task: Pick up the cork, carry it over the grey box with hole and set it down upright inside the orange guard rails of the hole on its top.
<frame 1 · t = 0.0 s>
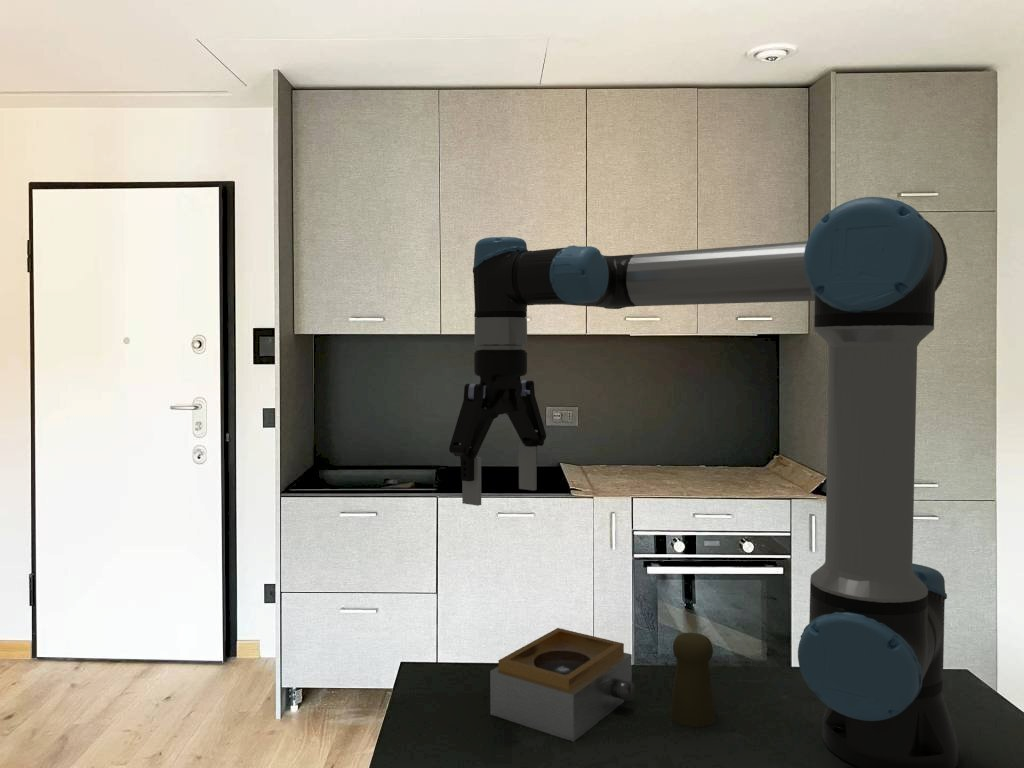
hand: (501, 496, 115), 28 cm above the table, tool pointing down, fingers open, 13 cm apart
cork: (692, 718, 107), on the table
grey box with hole: (562, 704, 111), on the table
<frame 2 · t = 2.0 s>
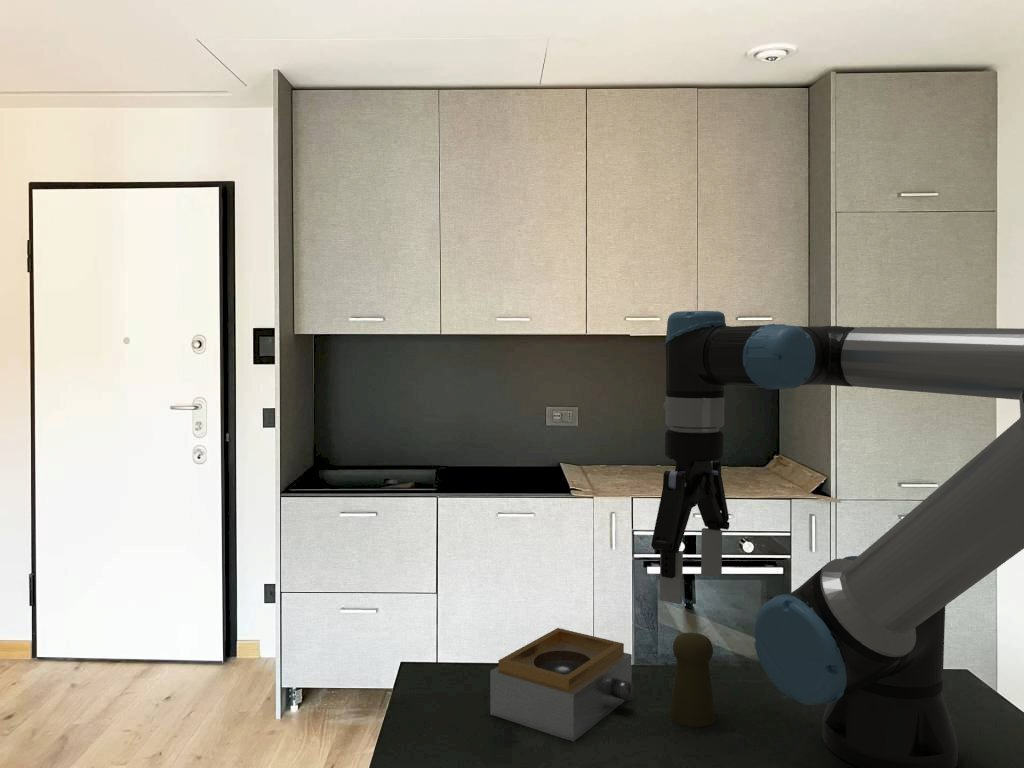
hand: (692, 588, 106), 17 cm above the table, tool pointing down, fingers open, 13 cm apart
nothing on the table moved.
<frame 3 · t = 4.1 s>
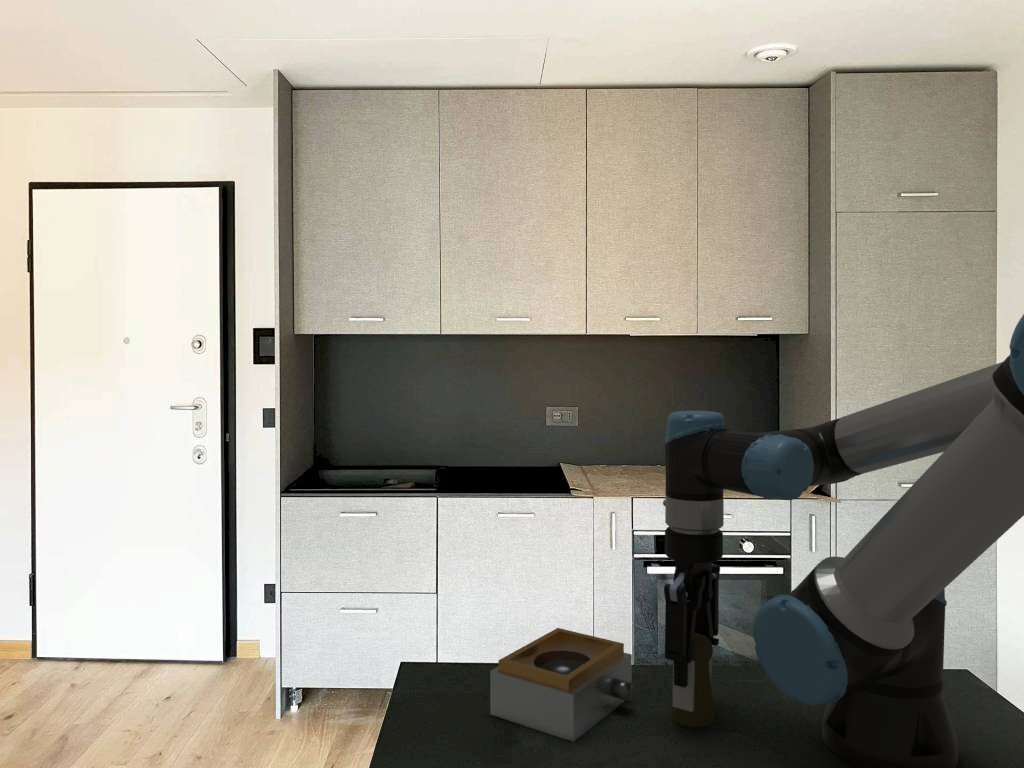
hand: (692, 699, 107), 2 cm above the table, tool pointing down, fingers closed on cork, 5 cm apart
cork: (692, 717, 107), on the table, touching gripper
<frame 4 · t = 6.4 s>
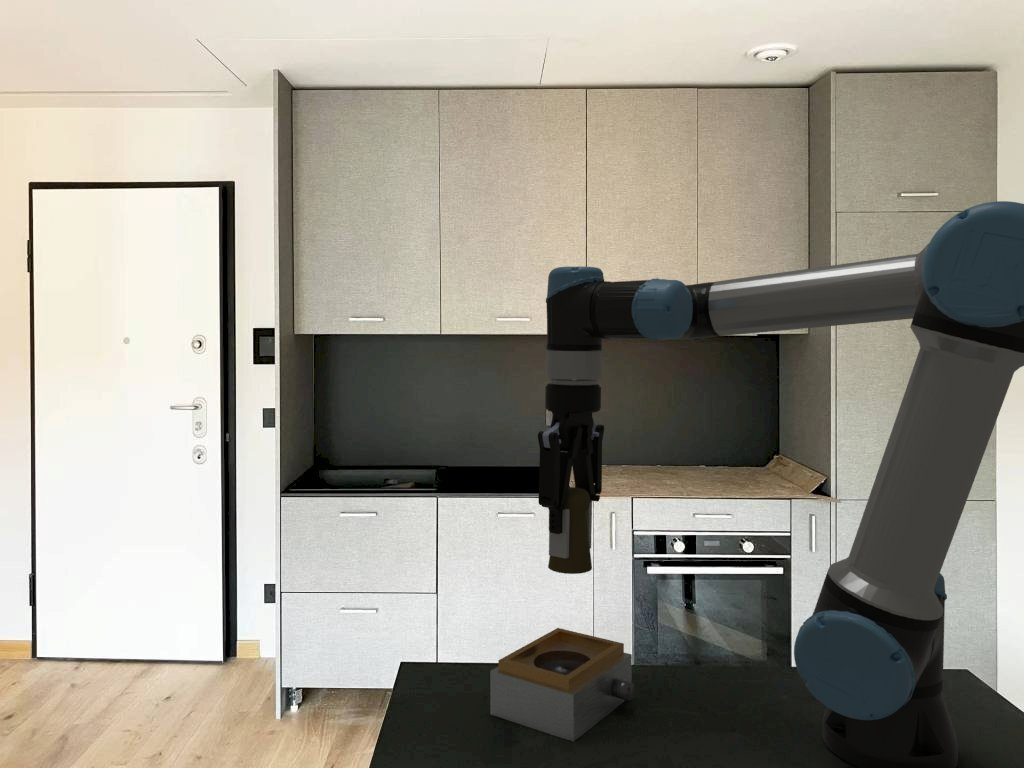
hand: (570, 551, 110), 21 cm above the table, tool pointing down, fingers closed on cork, 5 cm apart
cork: (570, 568, 110), point 19 cm above the table, touching gripper
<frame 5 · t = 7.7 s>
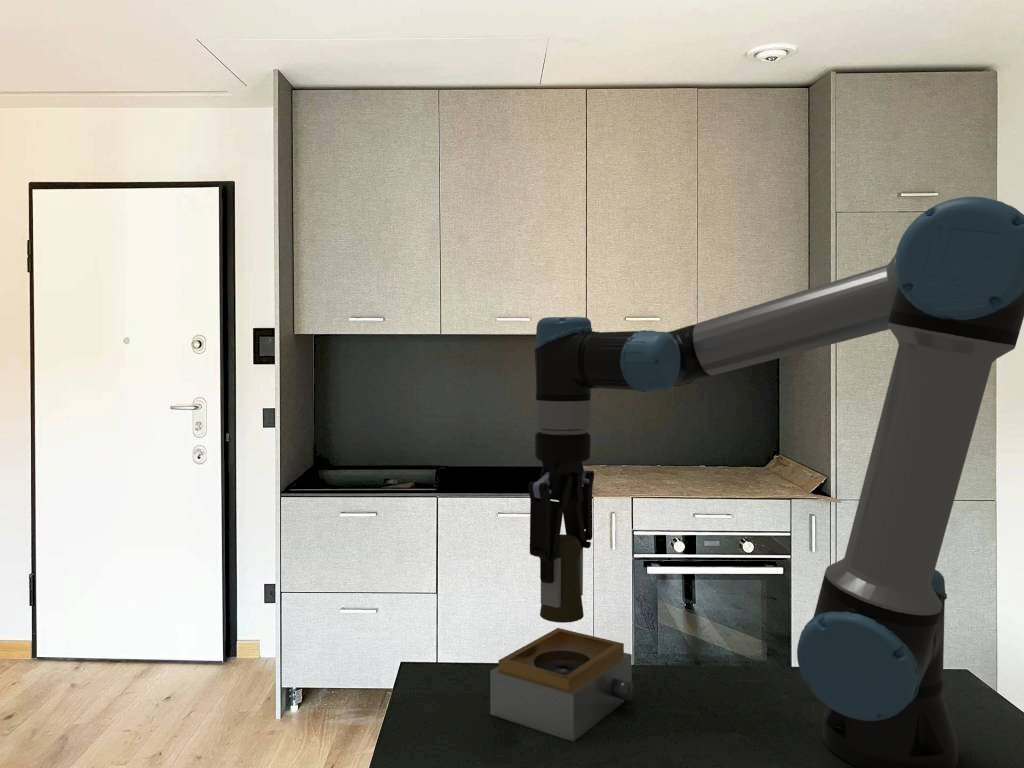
hand: (562, 599, 110), 15 cm above the table, tool pointing down, fingers closed on cork, 5 cm apart
cork: (561, 616, 110), point 12 cm above the table, touching gripper
when the fingers open (9 cm above the table, at t = 8.9 s): cork drops 1 cm, resting on grey box with hole.
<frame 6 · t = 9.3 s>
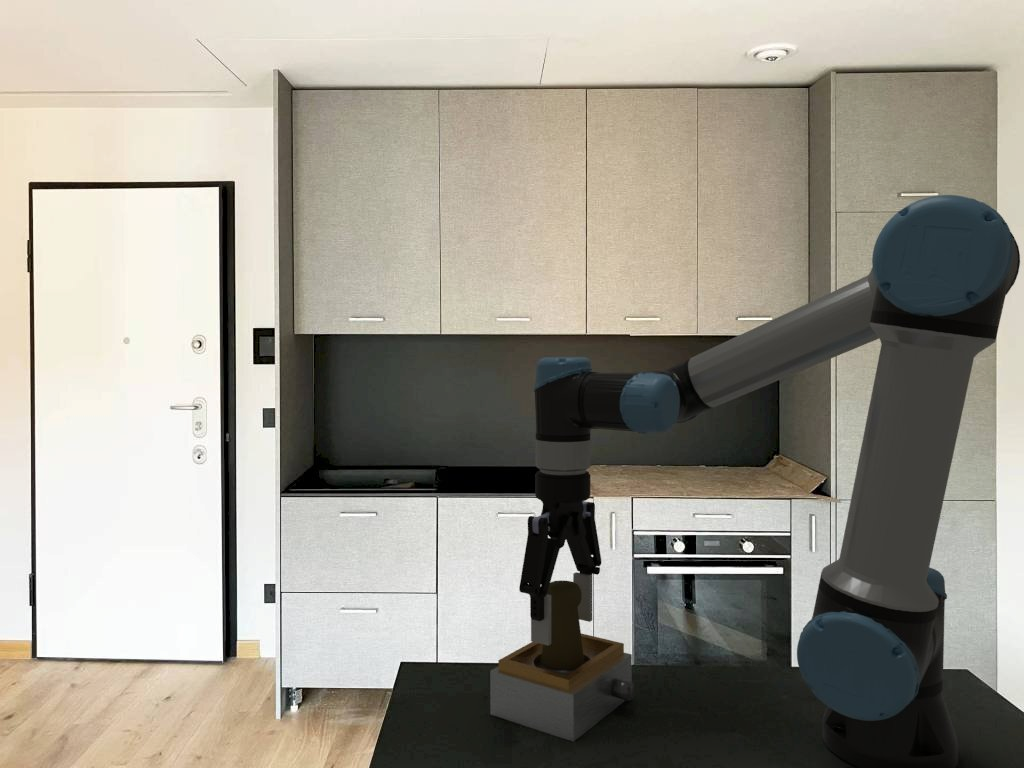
hand: (562, 630, 110), 10 cm above the table, tool pointing down, fingers open, 10 cm apart
cork: (562, 662, 110), point 6 cm above the table, touching grey box with hole
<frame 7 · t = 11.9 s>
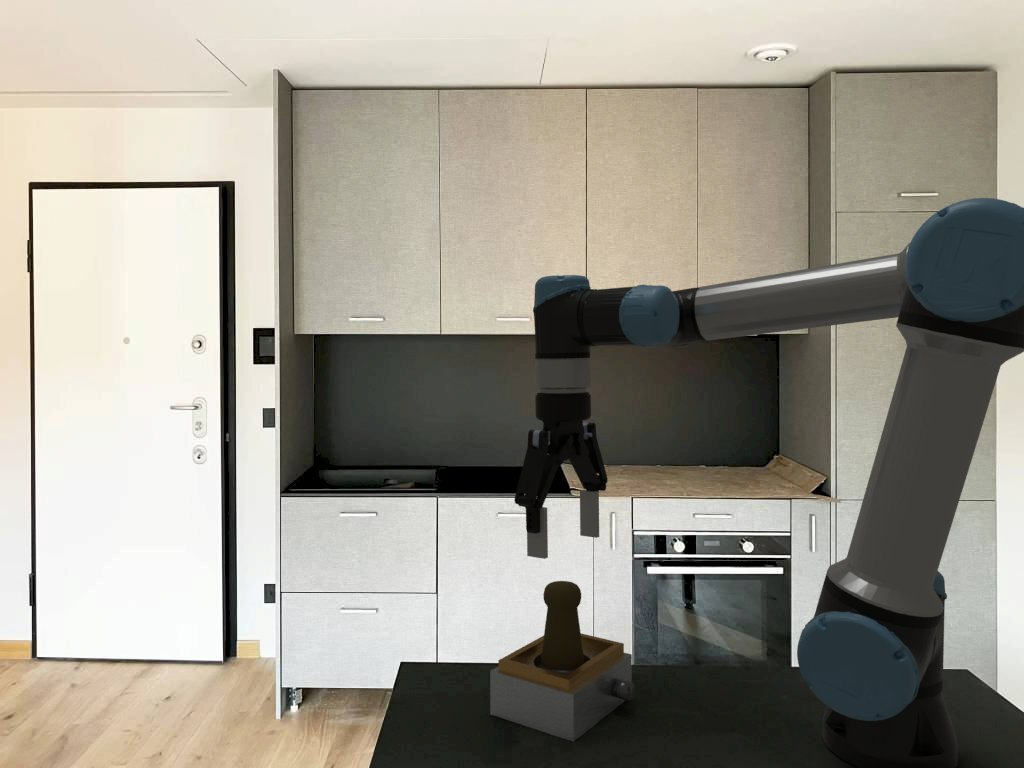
hand: (565, 546, 109), 22 cm above the table, tool pointing down, fingers open, 13 cm apart
nothing on the table moved.
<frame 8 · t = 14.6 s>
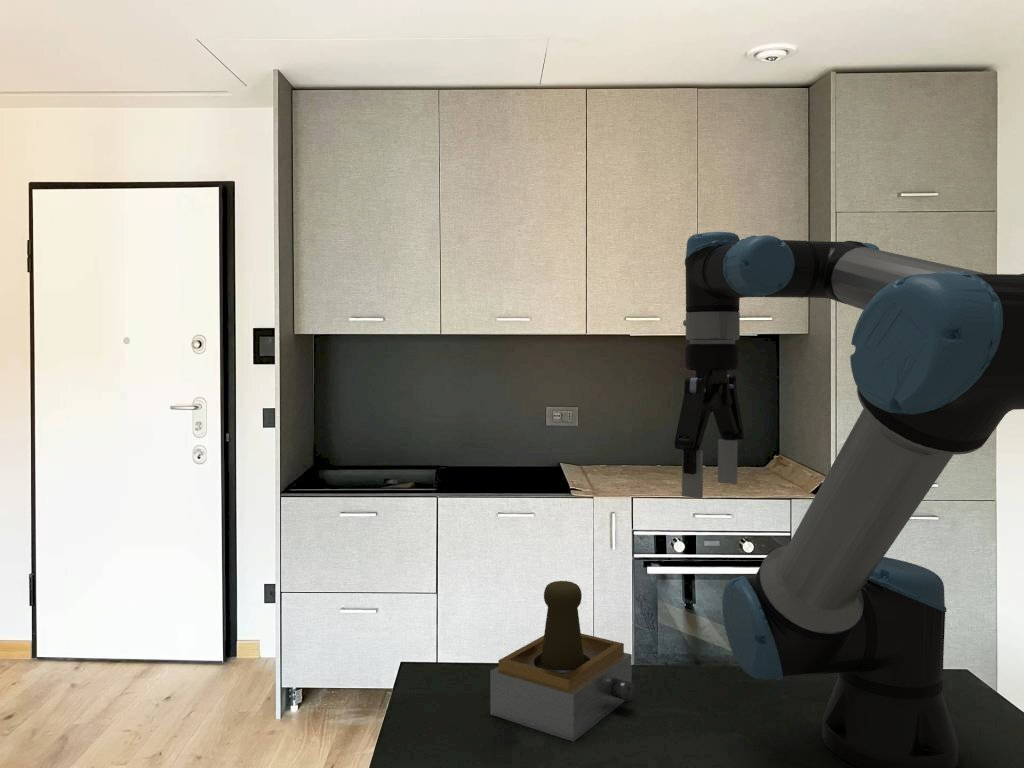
hand: (710, 489, 116), 29 cm above the table, tool pointing down, fingers open, 13 cm apart
nothing on the table moved.
at the end: cork inside the target area on the grey box with hole (0.1 cm from its centre), point 5.9 cm above the grey box with hole's base; cork tilted 0°; the gripper is holding nothing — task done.
